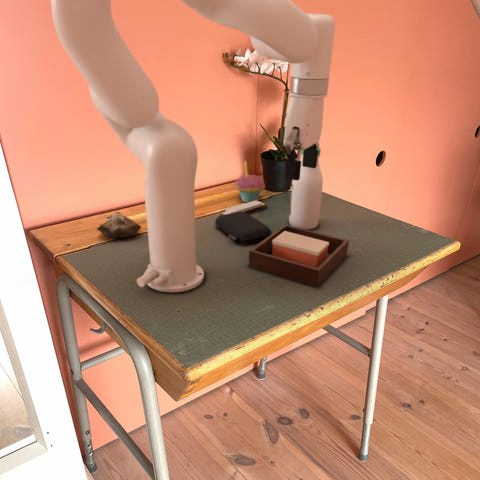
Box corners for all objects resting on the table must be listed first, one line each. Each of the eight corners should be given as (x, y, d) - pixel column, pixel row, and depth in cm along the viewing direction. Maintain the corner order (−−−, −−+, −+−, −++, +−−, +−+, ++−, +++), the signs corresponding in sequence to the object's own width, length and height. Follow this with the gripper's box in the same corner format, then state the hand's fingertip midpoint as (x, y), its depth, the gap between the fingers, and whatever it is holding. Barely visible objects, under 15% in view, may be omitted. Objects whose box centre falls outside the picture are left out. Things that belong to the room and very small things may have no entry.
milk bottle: (323, 226, 131) (333, 149, 120) (301, 232, 127) (309, 153, 116) (304, 216, 136) (312, 141, 125) (282, 222, 132) (288, 145, 121)
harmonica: (227, 221, 132) (227, 214, 131) (220, 217, 134) (220, 210, 133) (266, 208, 140) (267, 201, 139) (259, 205, 142) (259, 198, 141)
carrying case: (208, 226, 129) (238, 248, 119) (208, 215, 127) (238, 236, 117) (243, 219, 134) (274, 239, 123) (243, 208, 132) (275, 228, 122)
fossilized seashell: (92, 233, 118) (133, 242, 118) (97, 205, 118) (139, 214, 118) (100, 236, 125) (139, 245, 126) (105, 210, 125) (144, 219, 125)
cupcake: (245, 206, 141) (246, 164, 134) (229, 197, 147) (230, 156, 140) (269, 201, 145) (272, 160, 138) (253, 192, 151) (255, 152, 144)
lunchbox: (315, 273, 109) (318, 252, 107) (270, 260, 114) (272, 240, 111) (326, 262, 114) (329, 242, 111) (283, 250, 118) (284, 230, 116)
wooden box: (317, 287, 104) (319, 270, 102) (248, 266, 111) (249, 250, 109) (346, 255, 117) (349, 240, 115) (283, 239, 124) (284, 224, 121)
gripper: (307, 79, 106) (300, 160, 116) (273, 91, 93) (268, 181, 103) (341, 83, 103) (330, 165, 113) (310, 95, 90) (301, 187, 100)
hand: (300, 172), depth 108 cm, fingers open, 9 cm apart
